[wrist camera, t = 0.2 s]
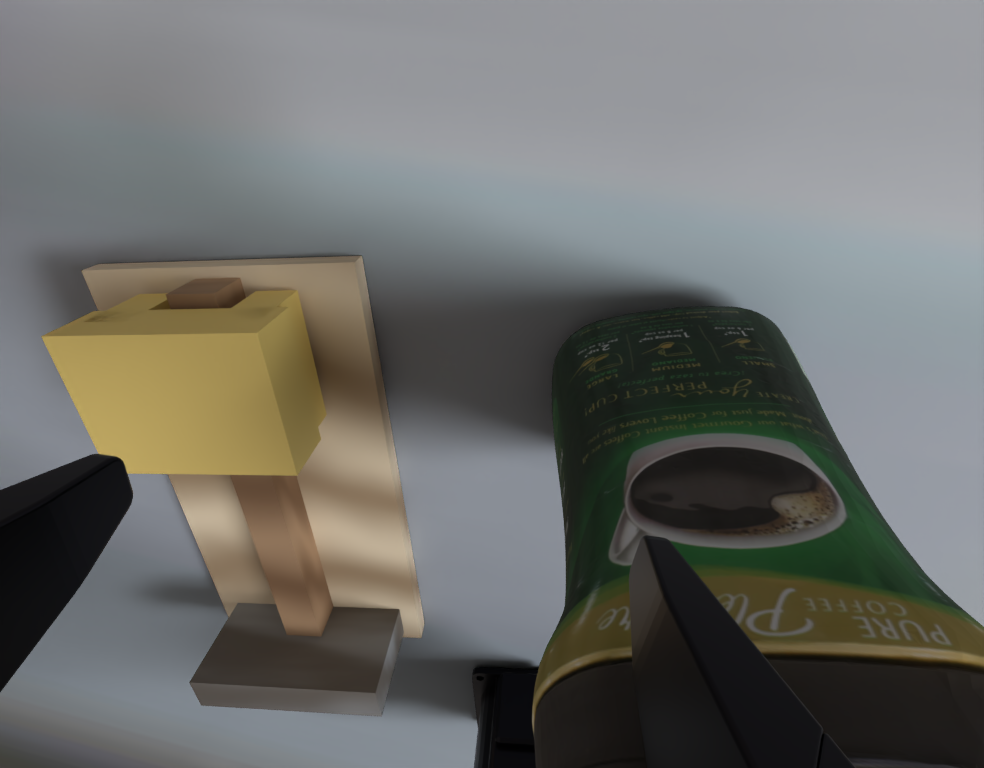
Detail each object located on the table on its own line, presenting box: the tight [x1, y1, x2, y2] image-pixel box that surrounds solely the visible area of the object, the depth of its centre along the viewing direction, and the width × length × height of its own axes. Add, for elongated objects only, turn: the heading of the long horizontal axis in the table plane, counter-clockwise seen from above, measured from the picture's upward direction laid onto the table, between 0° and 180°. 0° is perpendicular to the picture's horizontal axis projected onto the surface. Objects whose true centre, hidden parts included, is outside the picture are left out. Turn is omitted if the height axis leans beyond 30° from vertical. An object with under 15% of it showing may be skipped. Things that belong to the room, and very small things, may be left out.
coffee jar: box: [532, 306, 984, 768], centre depth 16 cm, size 10×8×19 cm
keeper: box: [41, 290, 327, 476], centre depth 22 cm, size 6×8×4 cm
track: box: [81, 256, 425, 716], centre depth 26 cm, size 23×12×6 cm, turn 3°
